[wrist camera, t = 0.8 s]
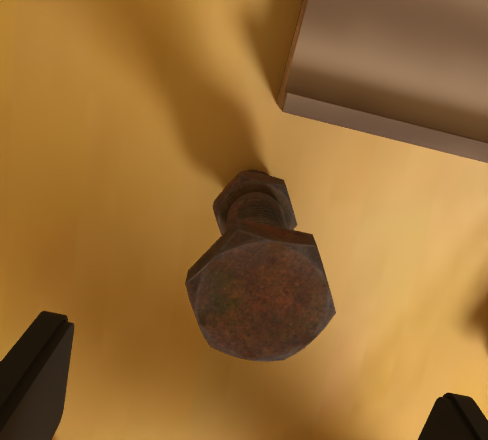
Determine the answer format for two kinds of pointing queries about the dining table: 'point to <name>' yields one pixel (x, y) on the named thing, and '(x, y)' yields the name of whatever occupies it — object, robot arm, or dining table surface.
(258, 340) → the bolt
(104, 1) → the dining table surface
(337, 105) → the brown wooden long tray
